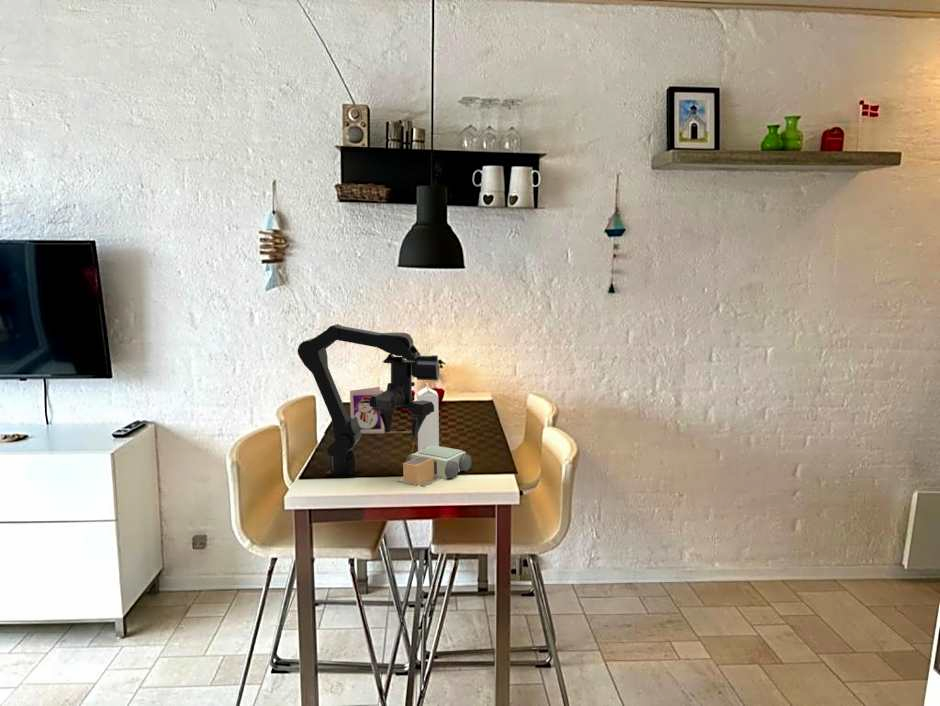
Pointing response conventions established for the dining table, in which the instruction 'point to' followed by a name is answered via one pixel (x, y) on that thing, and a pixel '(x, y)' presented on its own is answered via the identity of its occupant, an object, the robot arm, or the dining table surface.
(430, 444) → the milk
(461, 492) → the dining table surface
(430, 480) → the mounting plate
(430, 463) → the block
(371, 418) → the greeting card
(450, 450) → the mower deck
